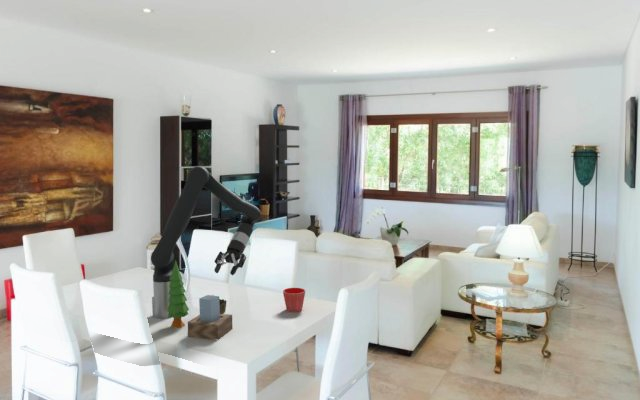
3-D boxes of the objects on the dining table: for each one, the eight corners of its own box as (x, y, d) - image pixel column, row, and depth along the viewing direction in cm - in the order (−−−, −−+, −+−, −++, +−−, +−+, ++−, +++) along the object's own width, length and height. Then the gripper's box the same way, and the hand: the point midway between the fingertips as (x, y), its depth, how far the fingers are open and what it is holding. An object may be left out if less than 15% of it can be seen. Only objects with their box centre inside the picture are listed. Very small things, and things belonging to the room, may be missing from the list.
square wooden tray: (188, 337, 221) (187, 322, 221) (203, 327, 235) (203, 312, 234) (218, 340, 218) (218, 324, 217) (232, 329, 231) (232, 314, 230)
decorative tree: (181, 321, 242) (179, 257, 239) (193, 325, 236) (192, 259, 233) (163, 326, 234) (160, 260, 232) (175, 331, 228) (173, 263, 226)
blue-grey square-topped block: (200, 321, 224) (199, 298, 223) (208, 317, 230) (208, 294, 229) (211, 323, 222) (210, 300, 221) (219, 318, 227) (219, 296, 226)
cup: (211, 320, 242) (210, 303, 242) (210, 316, 249) (209, 299, 249) (227, 319, 244) (227, 302, 244) (226, 314, 251) (225, 298, 251)
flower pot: (302, 313, 253) (302, 293, 252) (280, 312, 255) (280, 292, 254) (307, 307, 263) (307, 288, 262) (286, 305, 265) (286, 287, 265)
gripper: (222, 237, 243) (207, 267, 234) (247, 240, 237) (233, 270, 228) (229, 247, 248) (214, 276, 239) (254, 249, 242) (240, 279, 233)
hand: (223, 273), depth 233 cm, fingers open, 8 cm apart
